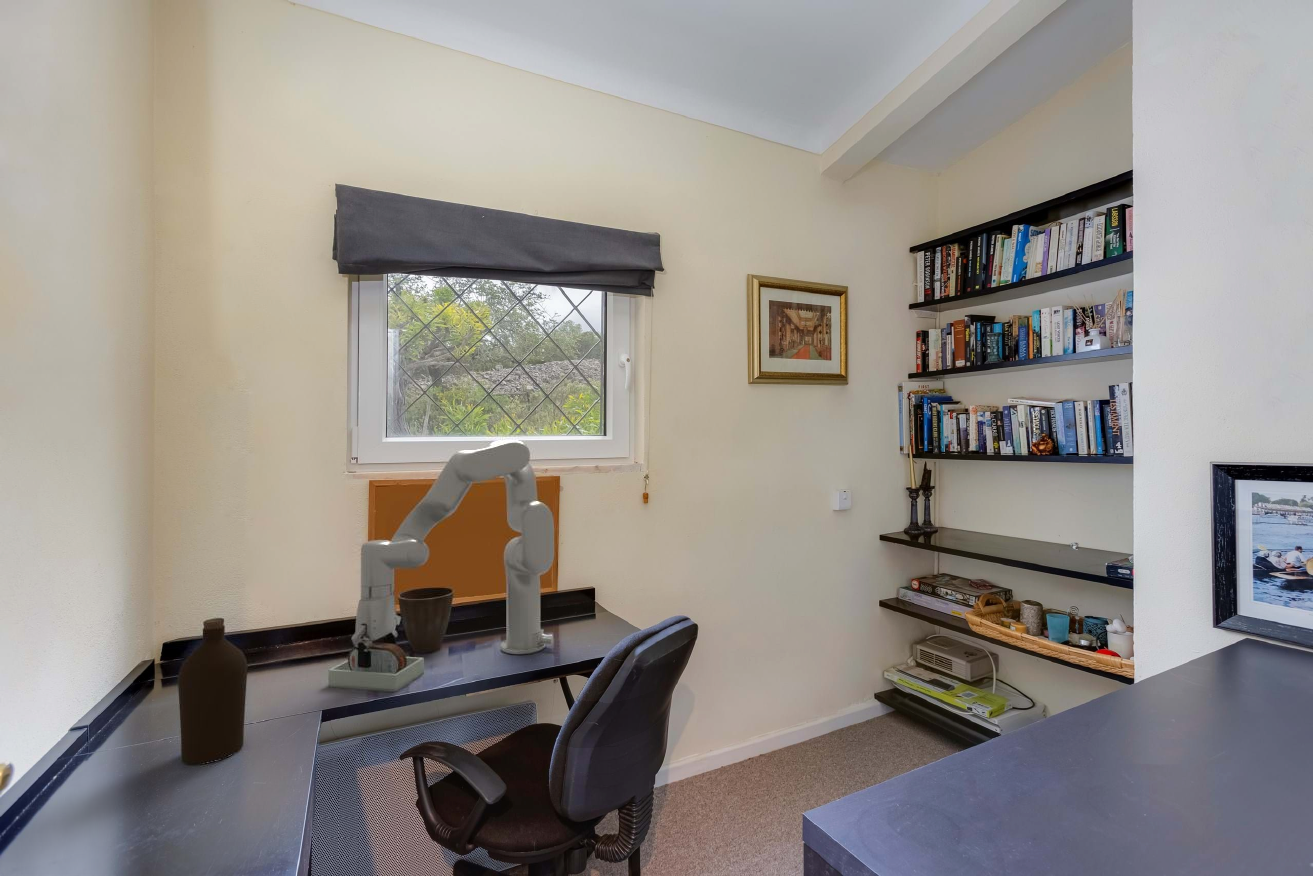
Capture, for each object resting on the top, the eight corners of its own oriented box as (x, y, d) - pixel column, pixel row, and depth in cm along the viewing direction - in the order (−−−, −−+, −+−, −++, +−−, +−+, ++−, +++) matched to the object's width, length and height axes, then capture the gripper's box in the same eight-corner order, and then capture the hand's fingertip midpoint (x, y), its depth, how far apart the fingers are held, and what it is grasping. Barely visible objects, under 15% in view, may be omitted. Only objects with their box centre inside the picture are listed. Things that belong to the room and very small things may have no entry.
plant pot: (385, 653, 167) (385, 596, 167) (425, 638, 181) (425, 584, 181) (427, 661, 161) (427, 601, 162) (464, 644, 175) (464, 589, 175)
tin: (407, 677, 148) (407, 643, 148) (399, 682, 145) (399, 647, 145) (354, 673, 151) (354, 639, 151) (345, 678, 148) (345, 644, 148)
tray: (423, 673, 152) (423, 658, 152) (395, 692, 141) (395, 675, 141) (360, 669, 156) (360, 653, 156) (328, 686, 144) (328, 670, 144)
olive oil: (204, 771, 107) (205, 631, 107) (163, 762, 110) (163, 625, 110) (260, 743, 117) (260, 614, 117) (220, 735, 120) (221, 610, 121)
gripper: (386, 582, 158) (385, 647, 158) (339, 599, 141) (339, 672, 141) (411, 583, 156) (411, 649, 156) (368, 600, 139) (367, 674, 139)
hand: (377, 660), depth 148 cm, fingers open, 9 cm apart
